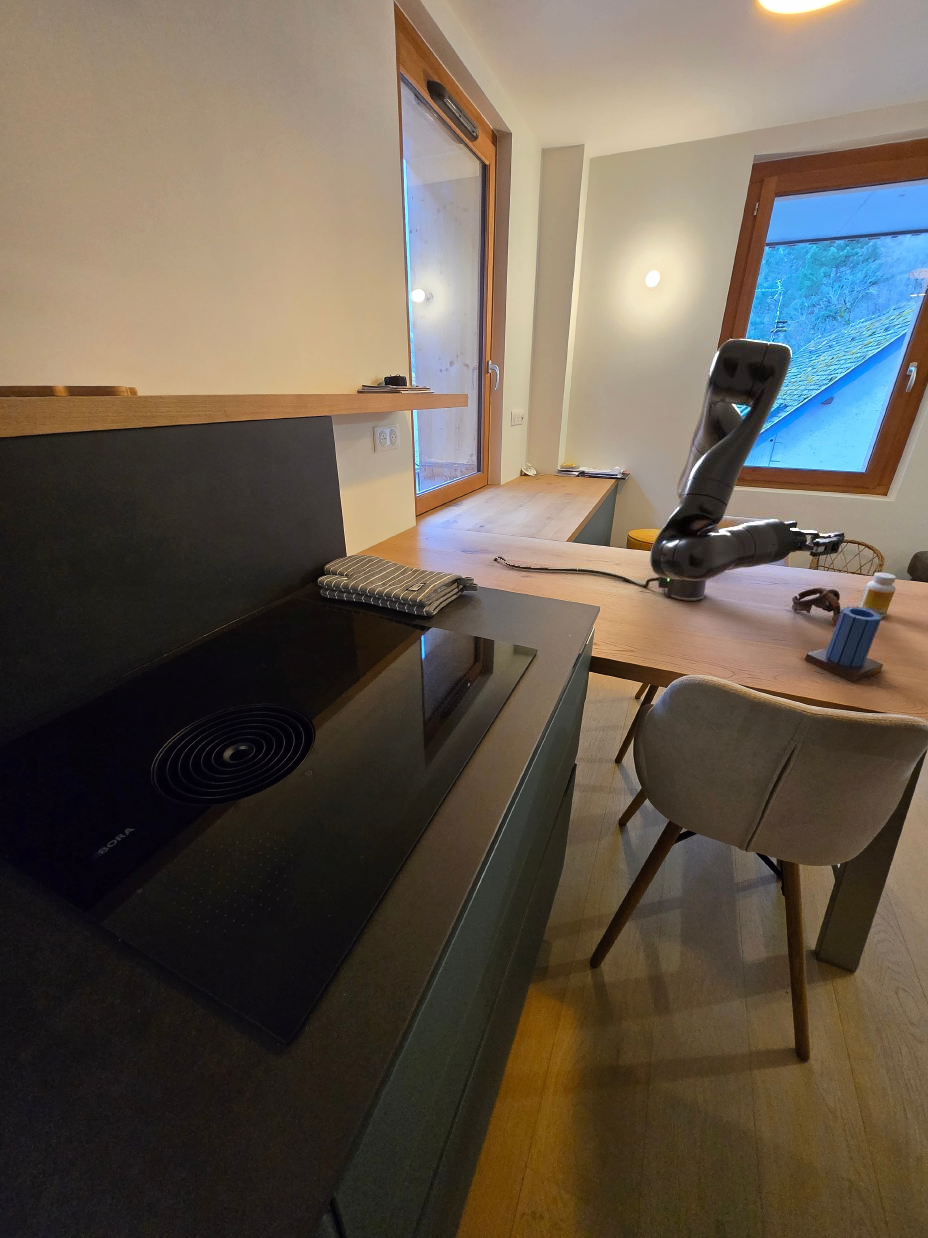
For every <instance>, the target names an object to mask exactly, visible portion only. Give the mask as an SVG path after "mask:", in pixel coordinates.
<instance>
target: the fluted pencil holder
mask: <svg viewBox="0 0 928 1238" xmlns="http://www.w3.org/2000/svg"><path fill="white" fill-rule="evenodd" d="M840 611H841V612H840V615H839V618H838V621H837V624H836V626H834V630H833V633H832V636H831V638H830V642H829V644H828V646H827V647H828V650H827V653H826V656H827V657H828V659H830V660H831V661H833V662H835V663H839V664H840V665H845V666H851V667H860V666H862V665H863V664H864V663H865V661H866V658H868V656H869V653H870V650H871V648H872V646H873V643H874V640H875V638H876V635H877V632H878V629H879V627H880V625H881V622H882V620H883V617H882V616H881V615H880V614H879V613H877V612H874V611H872V610H867V609H865V608H860V607H859V606H844V607H843V608H841V610H840Z"/></svg>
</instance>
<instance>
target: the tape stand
mask: <svg viewBox="0 0 928 1238" xmlns="http://www.w3.org/2000/svg"><path fill="white" fill-rule="evenodd" d="M828 647H829V646H826V647H823V648H820V649H817V650H814V651H811V652H807V653H806V655H805V659H804V661H806V662H808V663H811V664H812V665H814V666H817V667H819V668H821V669H823V670H824V671H825V670H826V671H827V672H830V673H831V674H834V675H836V676H838V677H841V678H842V679H845V680H846V681H849V682H855V681H859V680H861V679H864V678H865V677H869V676H871V675H873V674H877V673H879V672H881V671H882V669H883V667H884V664H883V663H881V662H878V661H876V660H874V659H871V658H869V657H867V658H866V661H865V663H864V664H863V665H862V666H860V667H851V666H845V665H840V664H839V663H835V662H833V661H831V660H830V659H828V657H827V656H826V653H827V650H828Z"/></svg>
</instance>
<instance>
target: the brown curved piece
mask: <svg viewBox="0 0 928 1238" xmlns="http://www.w3.org/2000/svg"><path fill="white" fill-rule="evenodd" d="M797 594H798V595H795V596H793V597H792V599H791V601H792V605H791V609H792V610H793V611H794V612H795V613H796V612H806V613H808V614H811V610H812V608H813V606H814V608H816V609H817V608H818V609H821V610H822V611H825V612H828V613H831V612H832V613H833V614H832V618H831V619H832V621H833V623H832V624H833V625H832V626H833V627H836V624H837V621H838V618H839V615H840V612H841V609H842V608H841V603H840V598H841V594H840V593H839V591H838V590H837V589H834V588H831V589H827V588H826V587H814V588H809V589H805V590H803V591H801V592H799V593H797ZM812 596H815V597H812ZM808 597H812V598H808ZM805 598H808V599H805Z"/></svg>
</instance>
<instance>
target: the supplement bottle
mask: <svg viewBox="0 0 928 1238" xmlns="http://www.w3.org/2000/svg"><path fill="white" fill-rule="evenodd" d="M896 579H897V576H896V575H894V574H892V573H888V572H875V573H874V574H873V577H872V580H869V582H867V584H866V585H865V588H864V591H863V594H862V597H861V599H860V602H859V605H858V607H860V608H865V609H867V610H872V611H874V612H877V613H879V614H880V615H881V616H882V618H883V617H885V616H886V615H887V613H888V610H889V607H890V605H891V602H892V600H893V597H894V595H895V592H896V586H895V585H894V584H895V582H896Z"/></svg>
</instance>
